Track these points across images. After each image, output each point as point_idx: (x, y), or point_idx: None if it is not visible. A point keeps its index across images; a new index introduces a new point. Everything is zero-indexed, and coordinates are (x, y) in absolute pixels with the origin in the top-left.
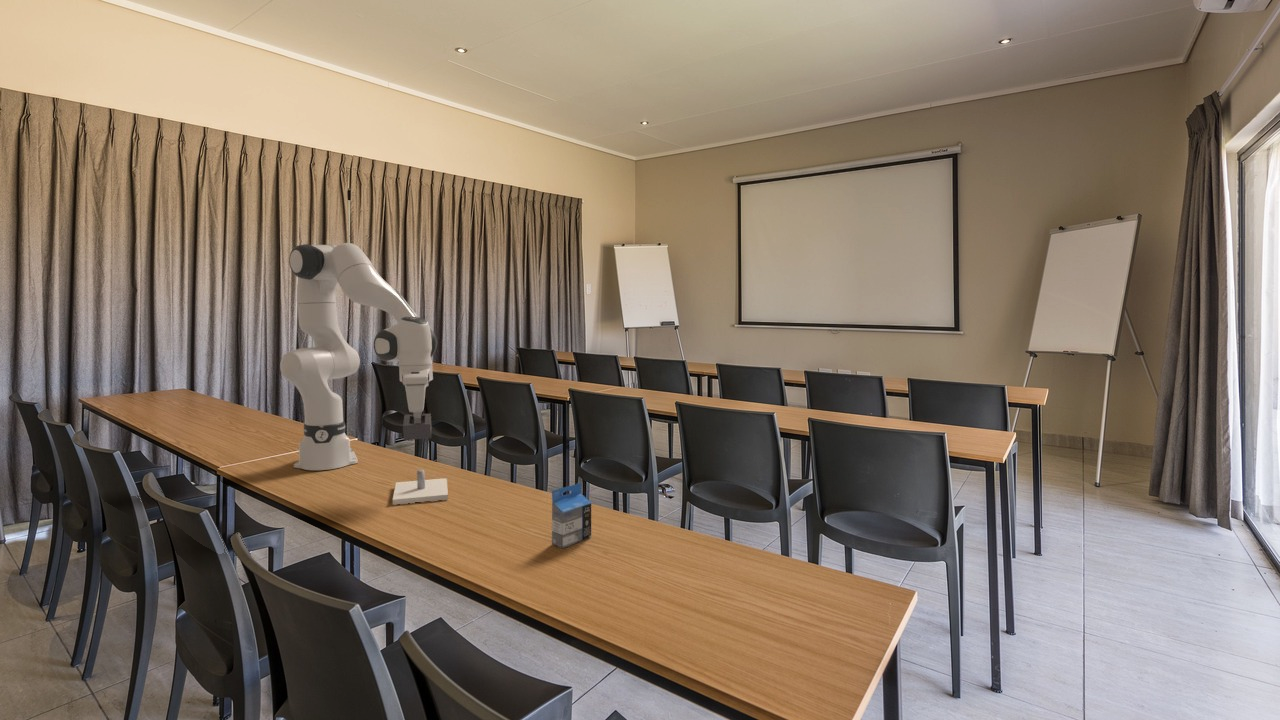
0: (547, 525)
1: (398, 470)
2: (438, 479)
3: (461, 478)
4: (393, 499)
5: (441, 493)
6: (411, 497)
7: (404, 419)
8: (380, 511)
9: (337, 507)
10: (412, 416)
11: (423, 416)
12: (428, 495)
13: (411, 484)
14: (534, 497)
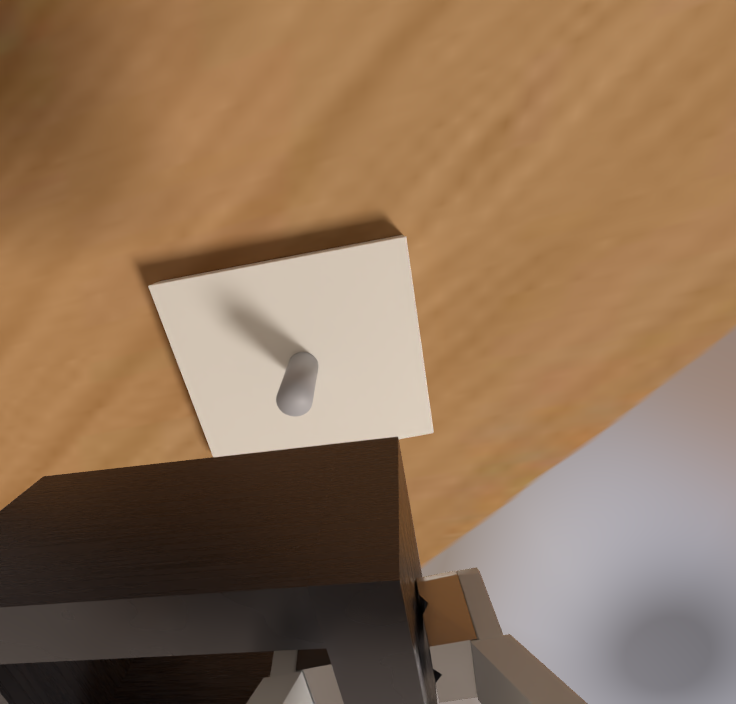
0: None
1: (693, 173)
2: (420, 406)
3: (481, 460)
4: (150, 288)
5: (232, 449)
6: (179, 354)
7: (147, 604)
8: (79, 250)
9: (112, 17)
10: (334, 664)
11: None
12: (207, 410)
13: (363, 314)
14: None
